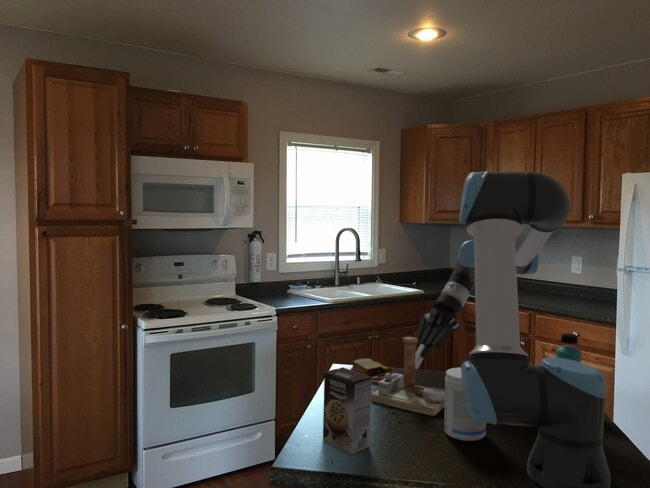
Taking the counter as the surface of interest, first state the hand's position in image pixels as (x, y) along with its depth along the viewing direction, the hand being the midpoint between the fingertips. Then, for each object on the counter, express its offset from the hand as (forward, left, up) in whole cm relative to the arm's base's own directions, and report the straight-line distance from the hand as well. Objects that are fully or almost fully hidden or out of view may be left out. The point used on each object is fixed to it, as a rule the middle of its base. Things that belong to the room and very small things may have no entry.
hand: (413, 365), depth 154 cm
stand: (-4, -2, -8) cm, 10 cm away
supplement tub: (-17, -21, -9) cm, 28 cm away
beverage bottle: (+16, -38, -9) cm, 42 cm away
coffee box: (-38, -1, -9) cm, 39 cm away
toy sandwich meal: (+7, +17, -9) cm, 20 cm away
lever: (-4, -5, -6) cm, 9 cm away
